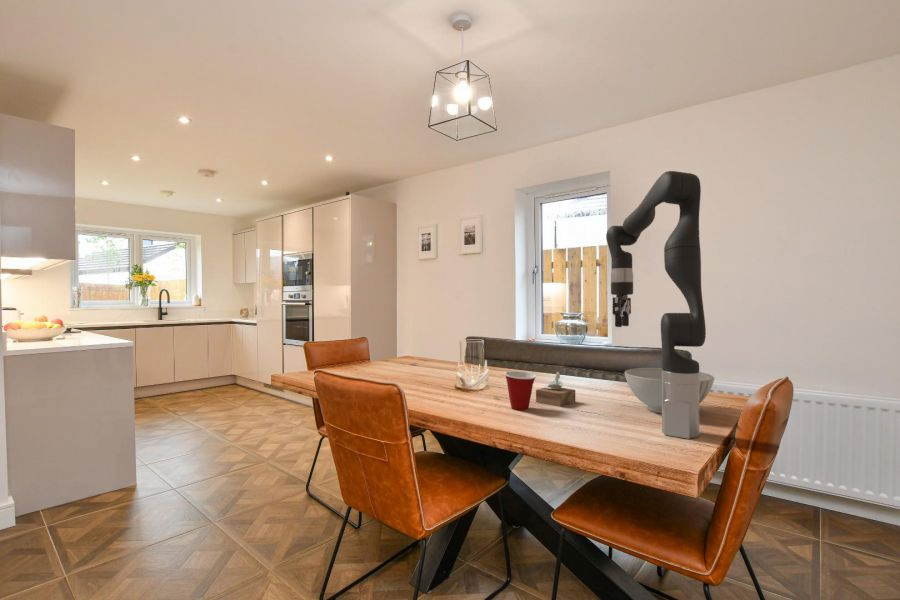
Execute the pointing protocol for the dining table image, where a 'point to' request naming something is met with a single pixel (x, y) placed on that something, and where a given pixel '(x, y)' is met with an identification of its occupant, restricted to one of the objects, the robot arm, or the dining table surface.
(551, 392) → the walnut block
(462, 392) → the dining table surface
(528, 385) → the plastic cup
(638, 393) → the decorative bowl
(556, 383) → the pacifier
